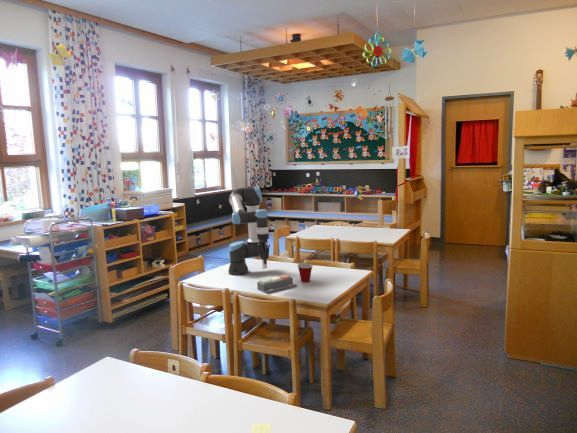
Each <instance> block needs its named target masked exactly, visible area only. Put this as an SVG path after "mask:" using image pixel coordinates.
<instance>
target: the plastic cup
mask: <svg viewBox="0 0 577 433" xmlns="http://www.w3.org/2000/svg"><path fill="white" fill-rule="evenodd" d="M313 267H314V265H313V264H311V263H307V262H302V263H301V262H300V263H298V264H297V268H298V272H299V273H298V274H299V277H300V280H301V281H300V282H301V283H310V281H311V276H312V269H313Z"/></svg>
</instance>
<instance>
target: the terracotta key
mask: <svg viewBox="0 0 577 433" xmlns="http://www.w3.org/2000/svg"><path fill="white" fill-rule="evenodd" d="M277 277H279V278H281V279H282V280H285V279H289V278H290V277H291V275H288V274H287V273H286V274H281V275H278V276H277Z"/></svg>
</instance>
